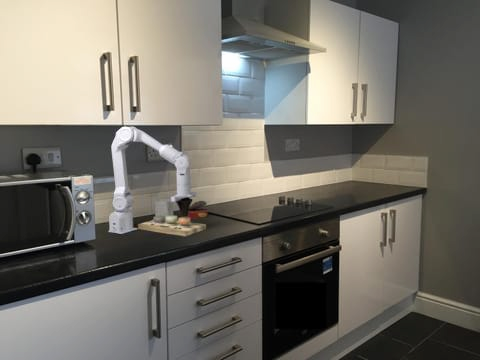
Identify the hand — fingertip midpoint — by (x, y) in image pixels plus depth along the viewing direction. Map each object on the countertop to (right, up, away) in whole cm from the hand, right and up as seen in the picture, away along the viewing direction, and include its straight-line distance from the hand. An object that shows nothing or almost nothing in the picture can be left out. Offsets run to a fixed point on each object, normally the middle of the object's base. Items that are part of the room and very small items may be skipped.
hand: (184, 216), depth 178 cm
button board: (-6, -6, +4) cm, 9 cm away
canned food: (+3, -3, +30) cm, 31 cm away
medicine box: (-13, -3, +27) cm, 30 cm away
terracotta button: (0, -3, 0) cm, 3 cm away
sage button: (-6, -3, +4) cm, 8 cm away
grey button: (-12, -3, +8) cm, 15 cm away
